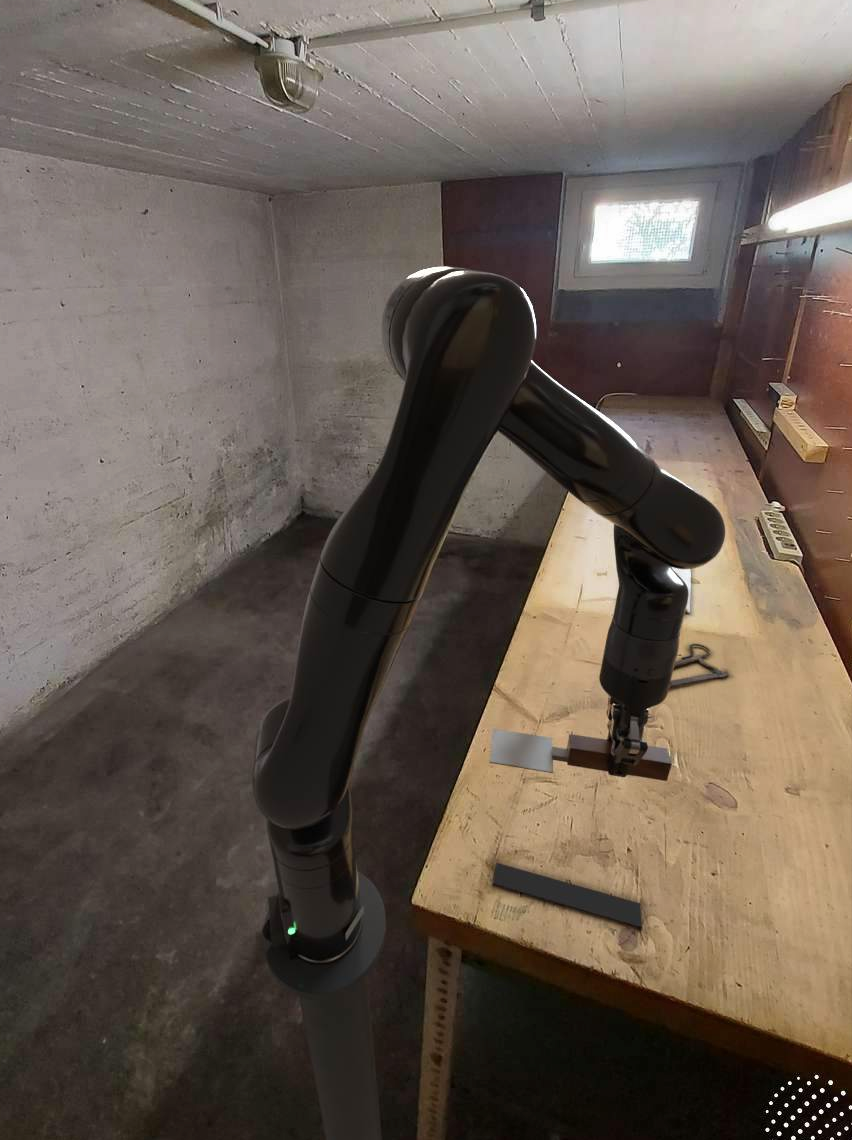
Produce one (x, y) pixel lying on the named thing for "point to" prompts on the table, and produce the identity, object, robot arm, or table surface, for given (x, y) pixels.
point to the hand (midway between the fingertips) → (615, 763)
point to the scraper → (570, 754)
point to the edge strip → (568, 894)
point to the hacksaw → (699, 658)
